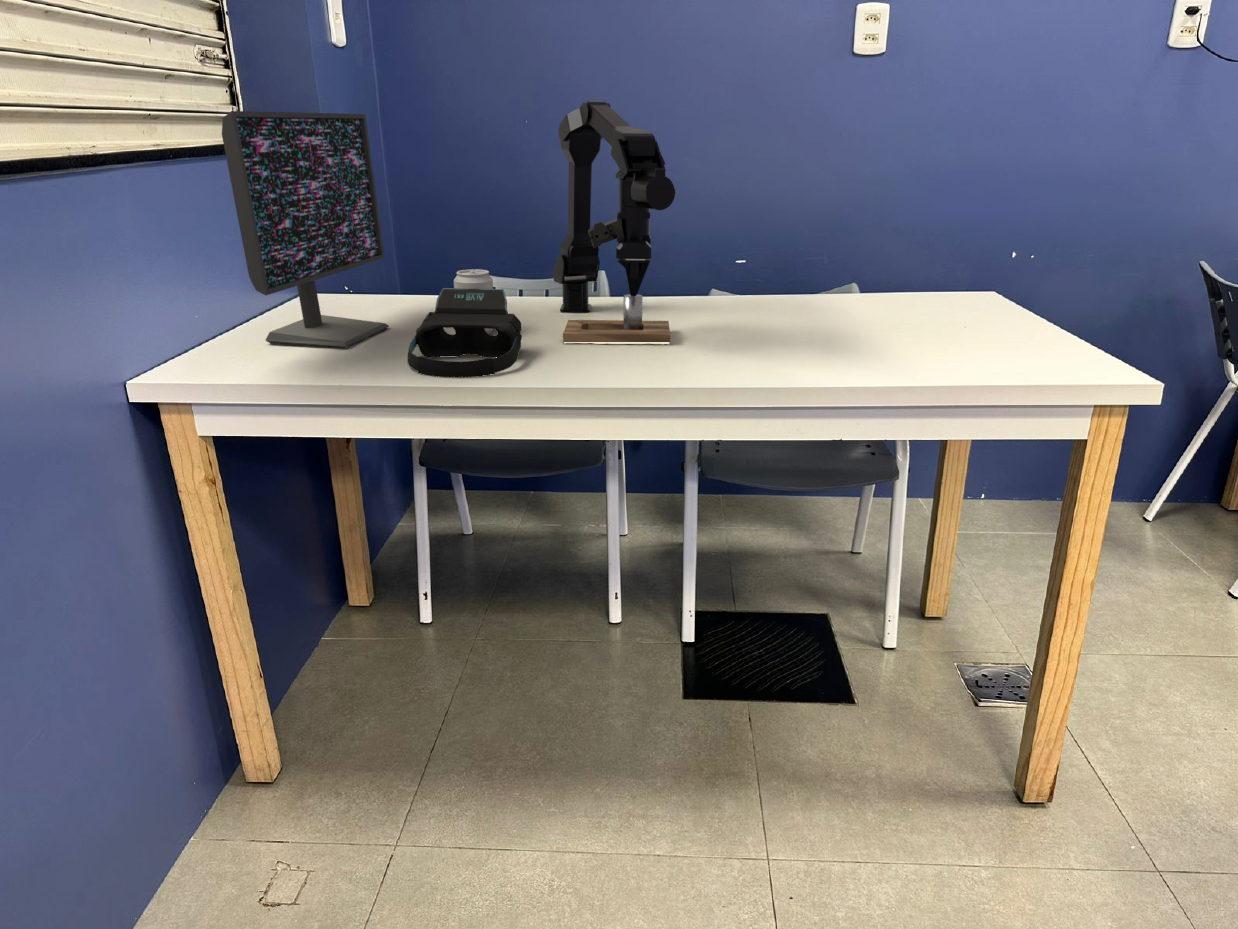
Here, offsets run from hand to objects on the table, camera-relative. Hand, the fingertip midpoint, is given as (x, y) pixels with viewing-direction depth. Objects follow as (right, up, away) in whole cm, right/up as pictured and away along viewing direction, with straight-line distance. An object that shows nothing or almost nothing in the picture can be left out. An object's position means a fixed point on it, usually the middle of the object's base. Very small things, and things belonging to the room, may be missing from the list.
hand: (633, 291), depth 163 cm
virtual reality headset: (-29, -15, -14) cm, 36 cm away
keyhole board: (-3, -8, +3) cm, 9 cm away
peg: (0, -8, +3) cm, 9 cm away
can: (-31, -7, +7) cm, 33 cm away
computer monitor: (-59, -8, +3) cm, 59 cm away
